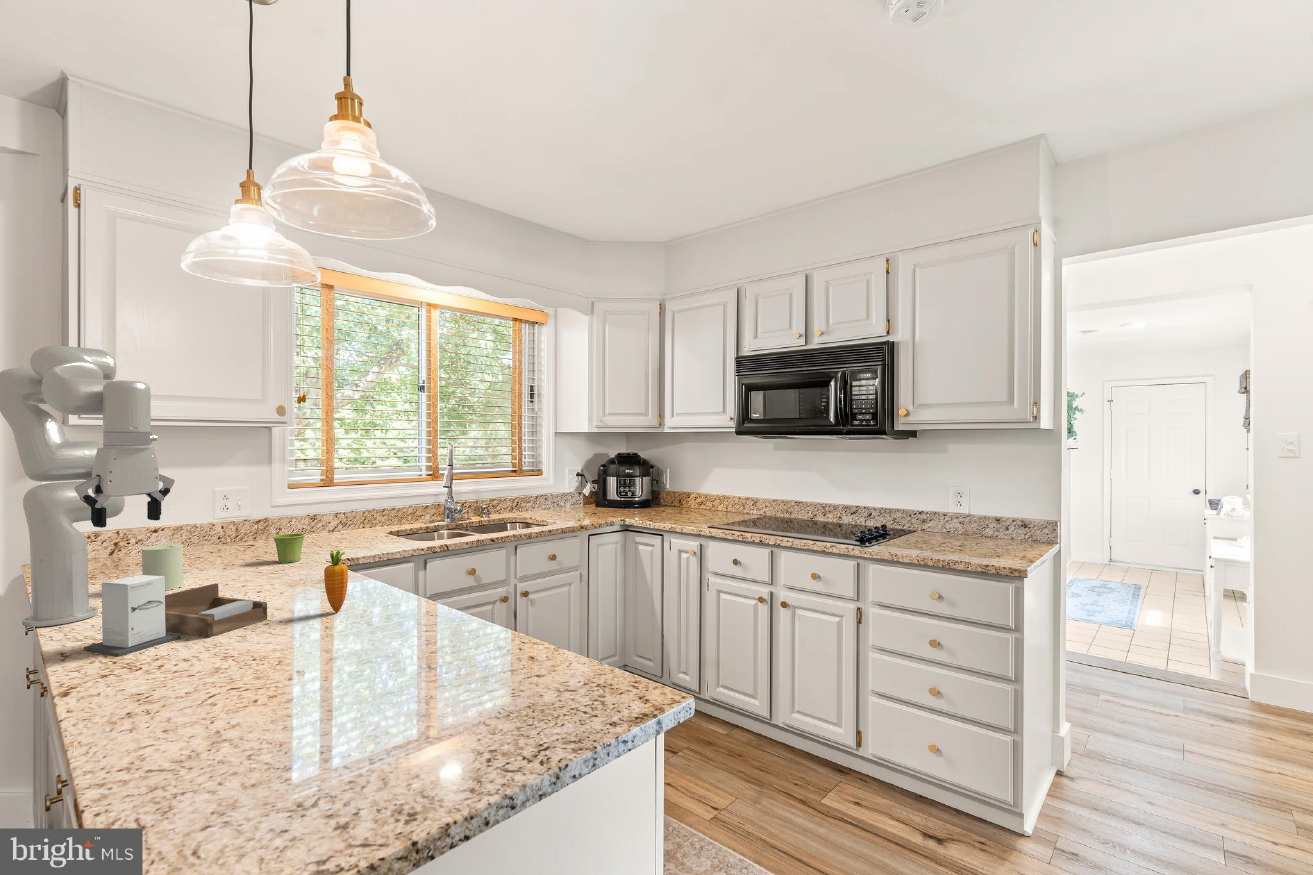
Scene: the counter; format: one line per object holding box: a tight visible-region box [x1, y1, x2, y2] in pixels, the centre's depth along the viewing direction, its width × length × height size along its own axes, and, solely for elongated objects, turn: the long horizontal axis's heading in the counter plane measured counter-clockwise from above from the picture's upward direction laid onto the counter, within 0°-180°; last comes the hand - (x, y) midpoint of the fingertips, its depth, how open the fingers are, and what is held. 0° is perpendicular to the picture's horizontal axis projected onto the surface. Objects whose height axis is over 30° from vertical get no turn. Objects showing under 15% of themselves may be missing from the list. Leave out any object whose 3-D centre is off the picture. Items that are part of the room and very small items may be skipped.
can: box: [141, 543, 185, 591], centre depth 172 cm, size 9×9×12 cm
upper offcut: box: [199, 601, 253, 621], centre depth 136 cm, size 4×10×2 cm, turn 168°
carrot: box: [323, 549, 349, 614], centre depth 146 cm, size 5×5×15 cm
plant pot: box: [272, 533, 306, 564], centre depth 206 cm, size 9×9×9 cm
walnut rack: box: [165, 583, 268, 639], centre depth 138 cm, size 17×13×7 cm
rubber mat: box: [83, 632, 182, 657], centre depth 126 cm, size 11×11×1 cm
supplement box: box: [101, 574, 167, 648], centre depth 126 cm, size 7×7×13 cm
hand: (127, 523), depth 129 cm, fingers open, 9 cm apart
